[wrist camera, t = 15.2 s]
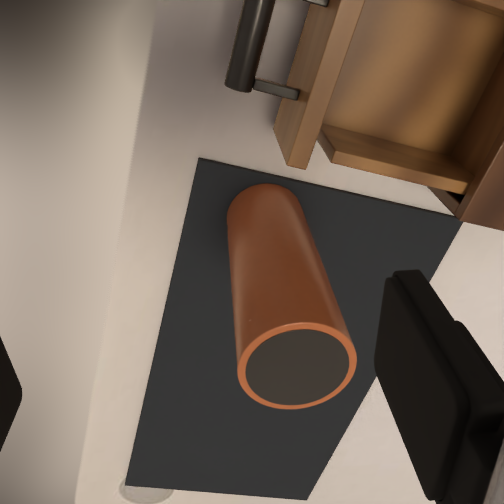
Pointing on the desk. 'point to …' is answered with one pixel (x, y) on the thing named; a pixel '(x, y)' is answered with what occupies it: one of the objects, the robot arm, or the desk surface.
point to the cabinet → (481, 192)
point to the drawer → (386, 85)
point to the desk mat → (224, 352)
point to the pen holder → (283, 304)
